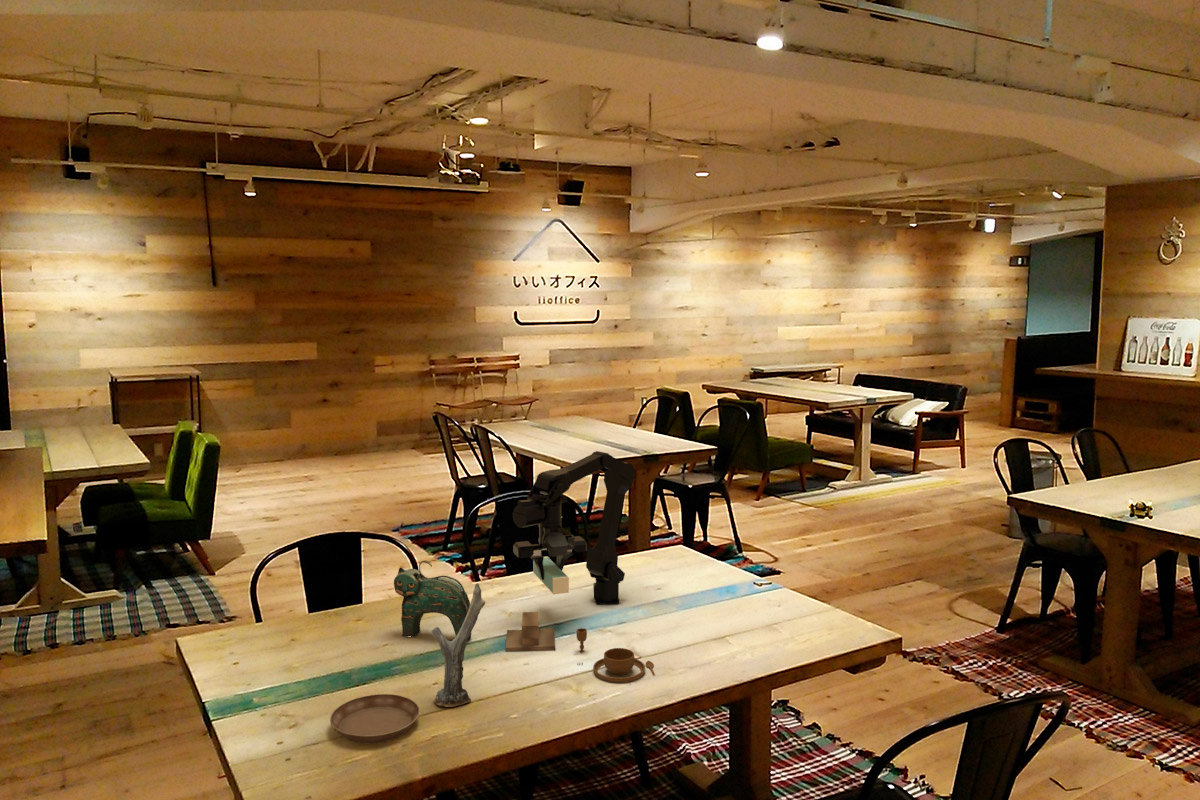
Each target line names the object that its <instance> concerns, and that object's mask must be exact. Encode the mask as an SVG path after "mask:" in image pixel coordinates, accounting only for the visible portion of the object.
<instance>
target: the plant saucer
mask: <svg viewBox="0 0 1200 800" xmlns="http://www.w3.org/2000/svg"><path fill="white" fill-rule="evenodd" d="M420 711H421V710H420V706H419V705H418V703H417V702H416V701H414V700H412V699H411V698H409V697H406V696H402V695H398V694H390V693H389V694H388V693H386V694H385V693H381V694H380V693H379V694H370V695H369V694H368V695H364V696H359V697H356V698H353V699H351V700H348V701H346V702H344V703H342V704H341V705H339V706H337V708H335V709H334V710H333V711H332V713H331V715H330V718H329V720H330V724H331V726H332V728H333V729H334V730H335V731H336V732H337V733H338V734H339V736H341V737H342V738H344V739H346V740H347V741H349V742H353V743H358V744H366V745H367V744H370V745H371V744H379V743H380V744H381V743H384V742H388V741H391V740H394V739H396V738H399V737H401V736H402V735H403V734H405V733H406V732H408V731H409V730H410V729H411V728H412V726H413V725H414V724H415V722H416V721H417V719H418V718H419V716H420Z"/></svg>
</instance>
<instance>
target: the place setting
mask: <svg viewBox="0 0 1200 800" xmlns="http://www.w3.org/2000/svg"><path fill="white" fill-rule="evenodd" d="M587 631H588V630H587V629H586V628H584V627H583V628H582V627H581V628H578V629H576V638H577V642H579V644H580V645H579V649H580V650H579V653H585V650H584V649H585V643H584V642H585V641H586V640H587V639H588V638H587V637H588V632H587ZM578 666H584V663H583V661H581V662H578ZM634 666H635V667H637V668H638V669H639V671H640V672H639V673H637V674H633V675H632V676H627V677H614V676H613V677H612V676H606V675H604V674H602V673H599V672H598V671H599V669H601V667H605V669H606V670H607V671H609V672H610V673H611V674H612V675H615V676H623V675H626V674H627V673H628V672H630V671H631V670H632V669H633V668H634ZM654 666H655V665H654V663H653V662H652V661H651V660H647V661H646V662H645V664H644V662H643V661H641V660H639V659H638V658H635V653H634V652H633V651H632V650H631V649H628V648H623V647H622V648H621V647H614V648H610V649H608V650H606V651H604V653H603V658H600V659H599V660H597V661H595V662H594V664H593V666H592V667H593V669H592V670H593V672H594V675H595V676H596V677H597V678H599V679H600V680H602V681H605V682H608V683H616V684H617V683H619V684H622V683H630V682H634V681H636V680H638V679H640V678H641V677H643V675H644V674H645V671H646V667H647V668H648V669H649V670H650V672H651V674H652V676H653V677H656V673H655V672H654V669H653V668H654Z"/></svg>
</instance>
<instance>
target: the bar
mask: <svg viewBox="0 0 1200 800" xmlns="http://www.w3.org/2000/svg"><path fill="white" fill-rule="evenodd" d="M543 557H544V559H543V569H544V580H542V579H541V577H540V574H539V572H538V569H537V566H536V564H535V562H534V560H533V559H532V561H533V562H532V564H533V566H532V567H533V569H532V570H533V574H535V576H536V577H537V578H538V579H539V580H540V581H541V582H542V583H543V584H544V586H546V588H547V589H548V590H549V591H550V592H551V593H552V595H561V594H568V593H570V591H569V589H570V581H569V580H570V576H568V575H567V574H566V573H565V572H564V571H563V570H561V569H560V568H559V567H558V566H557V563H555V562H554V561H552V559H550V557H549V556H543Z"/></svg>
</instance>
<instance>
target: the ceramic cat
mask: <svg viewBox="0 0 1200 800" xmlns="http://www.w3.org/2000/svg"><path fill="white" fill-rule="evenodd" d="M422 563H426V564H428V565H429V566H430V567H432V566H433V565H432V563H431V562H430V561H428V560H422V561H420V563H419V565H418V569H415V568H409V569H407V570H405V569H404V568H403V567H399V568H398V572H397V575H396V576H395V578H393V588H394V591H395V593H396V594H398V595H399V596H401V597H403V599H402V603H401V618H400V621H401V626H402V627H401V628H402V630H401V631H402V637H405V636H411V637H410V638H413V637H412V636H415V637H416V636H418V634H420V632H421V622H422V621H421V620H422V618H423V616H424V615H425V614H433V613H436V614H441V615H443V616H446V617H447V618H448V619H449V621H450V623H451V626H452V627H453V632H454V635H455V637H456V636H457V634H458V633H459V631H460V629H461V627H462V624H463V622H464V620H465V618H466V615H467V613H468V610H469V607H470V604H471V601H470V599H469V597H468V593H467V592H466V590H465V587H464V586H463V584H462V583H461V582H460V581H459V580H458V579H456V578H454V577H451V576H448V575H439V576H434V577H426V576H425V574H423V572H421V564H422ZM471 639H472V632H471V633H470V635H469V637H468V639H467V643H469V641H470V640H471Z"/></svg>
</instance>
